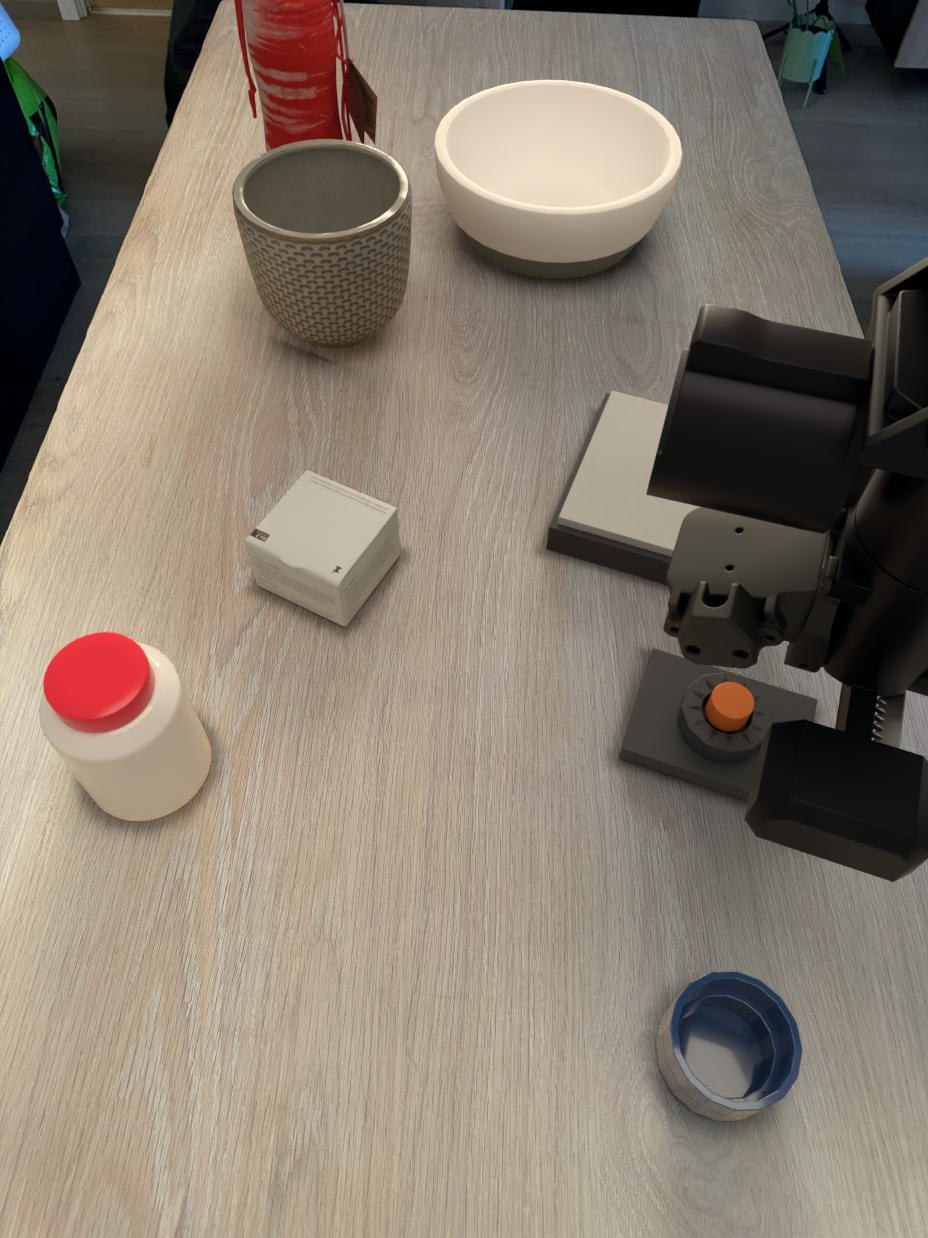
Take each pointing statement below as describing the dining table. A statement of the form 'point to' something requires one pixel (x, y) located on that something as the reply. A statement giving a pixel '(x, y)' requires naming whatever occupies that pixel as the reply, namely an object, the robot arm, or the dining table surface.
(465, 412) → the dining table surface
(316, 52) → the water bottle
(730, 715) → the button
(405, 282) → the planter
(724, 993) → the small dish
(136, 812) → the pill bottle
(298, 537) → the small box
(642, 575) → the scale
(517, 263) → the bowl
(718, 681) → the pad
